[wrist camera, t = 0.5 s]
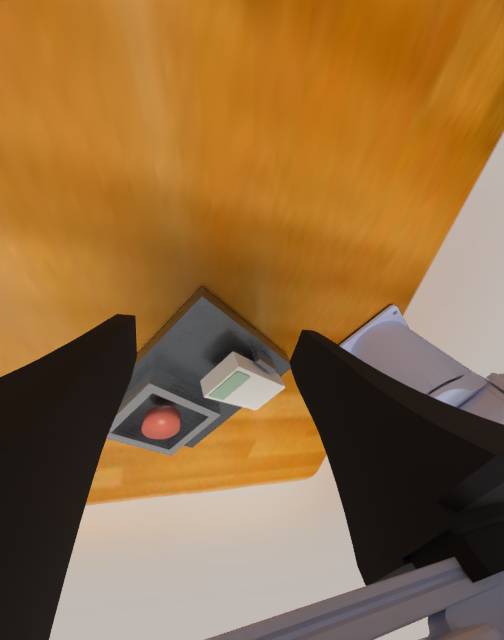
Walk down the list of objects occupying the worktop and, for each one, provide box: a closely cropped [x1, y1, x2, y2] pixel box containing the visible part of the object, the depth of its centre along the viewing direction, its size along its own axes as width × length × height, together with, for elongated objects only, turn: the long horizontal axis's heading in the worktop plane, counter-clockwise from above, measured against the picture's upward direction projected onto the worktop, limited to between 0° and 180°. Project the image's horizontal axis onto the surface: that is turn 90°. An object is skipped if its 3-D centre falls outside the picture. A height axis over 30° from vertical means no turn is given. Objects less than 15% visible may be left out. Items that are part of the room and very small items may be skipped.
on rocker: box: [200, 351, 285, 410], centre depth 20 cm, size 7×4×2 cm, turn 43°
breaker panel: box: [107, 286, 291, 456], centre depth 21 cm, size 12×16×4 cm
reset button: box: [142, 406, 181, 439], centre depth 20 cm, size 3×3×1 cm
